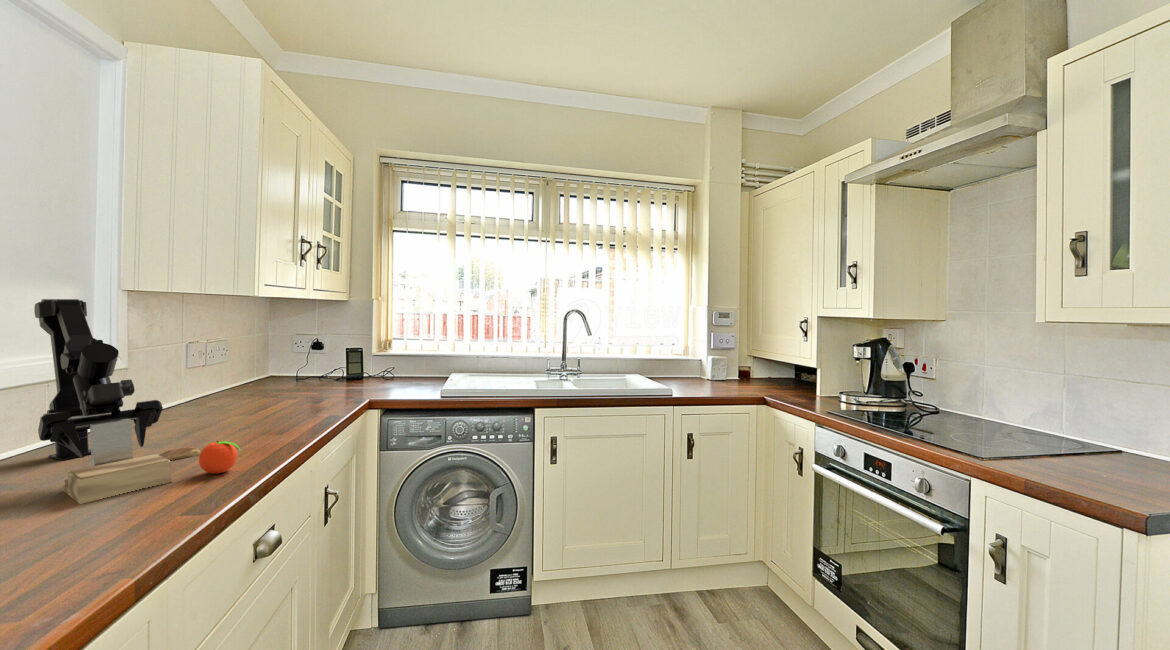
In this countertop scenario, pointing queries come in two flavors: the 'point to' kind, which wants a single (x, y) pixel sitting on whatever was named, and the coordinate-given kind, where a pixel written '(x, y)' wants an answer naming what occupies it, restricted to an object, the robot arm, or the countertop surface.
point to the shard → (181, 453)
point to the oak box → (117, 478)
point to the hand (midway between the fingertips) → (113, 450)
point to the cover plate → (111, 441)
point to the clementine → (218, 457)
